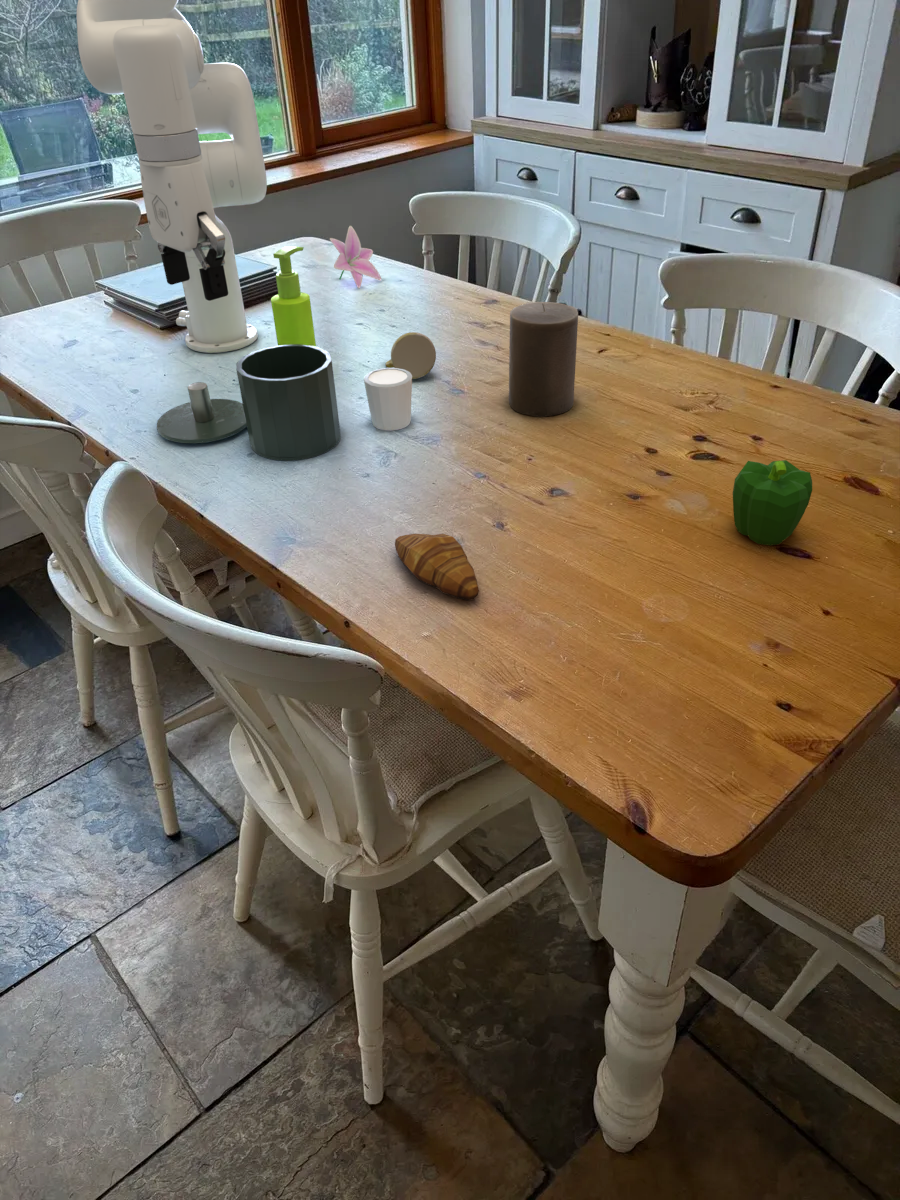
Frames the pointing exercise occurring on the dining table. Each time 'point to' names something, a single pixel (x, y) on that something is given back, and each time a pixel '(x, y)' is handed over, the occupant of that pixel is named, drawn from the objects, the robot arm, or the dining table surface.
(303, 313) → the soap dispenser
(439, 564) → the croissant
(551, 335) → the pillar candle
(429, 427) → the dining table surface
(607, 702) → the dining table surface
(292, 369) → the canister
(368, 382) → the white cup
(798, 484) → the bell pepper
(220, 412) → the lid
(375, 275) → the lily
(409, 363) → the mug
